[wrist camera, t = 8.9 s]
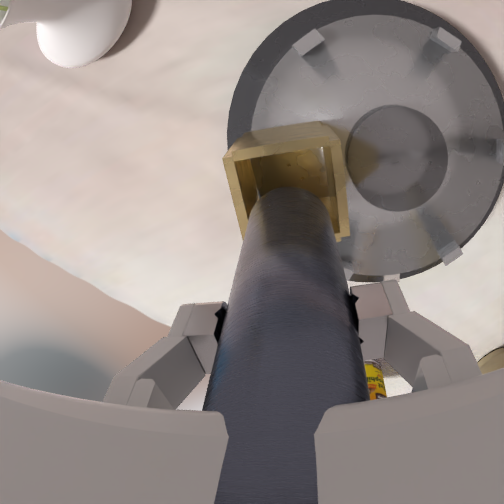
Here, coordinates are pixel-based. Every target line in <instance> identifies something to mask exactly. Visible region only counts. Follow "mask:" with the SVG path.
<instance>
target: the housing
mask: <svg viewBox="0 0 504 504" xmlns="http://www.w3.org/2000/svg"><path fill="white" fill-rule="evenodd" d="M363 15H388V16H396V17H401V18H405V19H409V20H413V21H415V22H418V23H421V24H423V25H426V26H428V27H430V28H432V29H433V28H437V27H441V28H443V29H444V30H446V31H447V32H449V33H450V34H452V35H453V36H455V37H456V38H458V39H459V40H460V41H462V42H461V45H460V48H461V49H462V50H463V51H464V52H465V53H466V54H467V55H468V56H469V57H470V58H471V59H472V60H473V62H474V63H475V64H476V65H477V67H478V68H479V69H480V71H481V72H482V74H483V75H484V77H485V79H486V80H487V82H488V84H489V86H490V87H491V90H492V92H493V94H494V97H495V99H496V102H497V105H498V108H499V111H500V115H501V119H502V125H503V132H504V102H503V98H502V95H501V92H500V90H499V87H498V85H497V83H496V80H495V78H494V76H493V74H492V72H491V71H490V69H489V67H488V66H487V64H486V62H485V61H484V59H483V58H482V56H481V55H480V54H479V53H478V51H477V50H476V49H475V47H474V46H473V45H472V44H471V43H470V42H469V41H468V40H467V39H466V38H465V37H464V36H463V35H462V34H461V33H460V32H459V31H458V30H457V29H455V28H454V27H453V26H451V25H450V24H449V23H447V22H446V21H444V20H443V19H442V18H440V17H438V16H436V15H435V14H433V13H431V12H429V11H427V10H425V9H423V8H421V7H418V6H416V5H413V4H410V3H407V2H405V1H401V0H330V1H326V2H322V3H319V4H317V5H315V6H312V7H310V8H308V9H305V10H303V11H301V12H299V13H298V14H296V15H295V16H293V17H291V18H290V19H288V20H287V21H285V22H284V23H282V24H281V25H280V26H279V27H278V28H277V29H275V30H274V31H273V32H272V33H271V34H270V35H269V36H268V37H267V38H266V39H265V40H264V41H263V42H262V44H261V45H260V46H259V47H258V48H257V50H256V51H255V52H254V53H253V55H252V57H251V58H250V60H249V61H248V63H247V65H246V66H245V68H244V70H243V72H242V74H241V76H240V79H239V81H238V84H237V86H236V88H235V91H234V95H233V99H232V103H231V107H230V111H229V119H228V129H227V142H228V150H229V149H230V147H231V146H232V145H233V143H234V142H235V141H236V139H237V138H240V137H242V136H243V134H244V133H245V132H250V131H251V127H252V119H253V115H254V111H255V108H256V104H257V100H258V98H259V96H260V93H261V91H262V89H263V86H264V84H265V82H266V80H267V79H268V77H269V76H270V74H271V72H272V71H273V69H274V67H275V66H276V65H277V64H278V62H279V61H280V60H281V59H282V58H283V56H284V55H285V54H286V53H287V52H288V51H289V50H290V49H291V48H292V45H293V44H294V43H296V42H297V41H298V40H300V39H301V38H302V37H304V36H305V35H306V34H308V33H309V32H311V31H312V30H313V29H316V30H317V29H319V28H321V27H323V26H326V25H328V24H330V23H333V22H335V21H338V20H342V19H346V18H350V17H354V16H363ZM250 159H251V158H250ZM503 183H504V166H503V169H502V174H501V178H500V182H499V185H498V188H497V191H496V194H495V197H494V199H493V201H492V203H491V205H490V207H489V209H488V211H487V213H486V214H485V216H484V218H483V219H482V221H481V222H480V224H479V225H478V226H477V227H476V229H475V230H474V231H473V232H472V234H471V235H470V236H469V237H468V238H467V239H466V240H465V241H464V242H462V243H461V244H460V245H459V246H460V248H462V247H463V246H464V245H465V244H466V243H467V242H468V241H469V240H470V239H471V238H472V237H473V236H474V235H475V234H476V233H477V231H478V230H479V229H480V228H481V226H482V225H483V224H484V222H485V221H486V219H487V218H488V216H489V214H490V213H491V211H492V209H493V207H494V205H495V203H496V201H497V199H498V197H499V194H500V191H501V189H502V186H503ZM256 186H257V185H256ZM257 190H258V189H257ZM258 195H259V199H260V198H261V196H260V194H259V192H258ZM441 262H443V261H442V259H439V260H437V261H435V262H433V263H431V264H429V265H427V266H425V267H422V268H419V269H416V270H413V271H410V272H405V273H400V274H395V275H384V276H374V275H361V274H354V273H353V274H352V276H351V278H350V279H349V280H348V281H355V282H382V281H388V280H393V279H395V280H397V282H399V279H402V278H407V277H410V276H413V275H416V274H419V273H422V272H424V271H426V270H428V269H430V268H432V267H434V266H436V265H438V264H440V263H441Z"/></svg>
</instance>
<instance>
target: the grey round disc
mask: <svg viewBox="0 0 504 504" xmlns="http://www.w3.org/2000/svg"><path fill="white" fill-rule="evenodd" d="M461 42H462V41H460V40H459V39H458V38H456V37H455V36H453V35H452V34H450V33H449V32H447V31H446V30H444V29H443V28H441V27H437V28H433V29H432V28H430V27H428V26H426V25H423V24H421V23H418V22H415V21H413V20H409V19H405V18H401V17H396V16H388V15H363V16H354V17H350V18H346V19H342V20H338V21H335V22H333V23H330V24H328V25H326V26H323V27H321V28H319V29H317V30H316V29H313V30H312V31H311V32H309V33H308V34H306V35H305V36H304V37H302V38H301V39H300V40H298V41H297V42H296V43H294V44H293V45H292V48H291V49H290V50H289V51H288V52H287V53H286V54H285V55H284V56H283V58H282V59H281V60H280V61H279V62H278V64H277V65H276V66H275V67H274V69H273V71H272V72H271V74H270V76H269V77H268V79H267V80H266V82H265V84H264V86H263V89H262V91H261V93H260V96H259V98H258V100H257V104H256V108H255V111H254V115H253V119H252V127H251V131H250V132H245V133H244V134H243V136H242V137H240V138H237V139H236V141H235V142H234V143H233V145H232V146H231V147H230V149H229V150H228V151H227V153H226V154H225V155H224V157H223V158H222V160H223V163H224V167H225V171H226V175H227V179H228V183H229V187H230V191H231V195H232V199H233V203H234V207H235V211H236V215H237V219H238V223H239V227H240V231H241V234H242V238H243V241H244V237H245V233H246V229H247V225H248V221H249V217H250V213H251V211H252V208H253V207H254V205H255V203H256V202H257V201H258V200H259V195H258V192H259V194H260V196H261V197H262V196H263V195H265V194H266V193H268V192H270V191H272V190H274V189H277V188H282V187H297V188H302V189H305V190H307V191H309V192H311V193H313V194H315V195H316V196H317V197H318V198H319V199H320V200H321V201H322V202H323V203H324V205H325V206H326V208H327V210H328V213H329V216H330V219H331V223H332V226H333V230H334V234H335V237H336V241H337V245H338V249H339V253H340V257H341V260H342V264H343V268H344V272H345V276H346V280H349V279H350V278H351V276H352V274H353V273H354V274H361V275H374V276H384V275H395V274H400V273H405V272H410V271H413V270H416V269H419V268H422V267H425V266H427V265H429V264H431V263H433V262H435V261H437V260H439V259H442V261H443V263H444V264H445V266H447V265H448V264H449V263H451V262H452V261H454V260H455V259H457V258H458V257H460V256H461V255H462V254H463V253H462V251H461V248H460V246H459V245H460V244H461V243H462V242H464V241H465V240H466V239H467V238H468V237H469V236H470V235H471V234H472V232H473V231H474V230H475V229H476V227H477V226H478V225H479V224H480V222H481V221H482V219H483V218H484V216H485V214H486V213H487V211H488V209H489V207H490V205H491V203H492V201H493V199H494V197H495V194H496V191H497V188H498V185H499V182H500V178H501V174H502V169H503V166H504V132H503V125H502V119H501V115H500V111H499V108H498V105H497V102H496V99H495V97H494V94H493V92H492V90H491V87H490V86H489V84H488V82H487V80H486V79H485V77H484V75H483V74H482V72H481V71H480V69H479V68H478V67H477V65H476V64H475V63H474V62H473V60H472V59H471V58H470V57H469V56H468V55H467V54H466V53H465V52H464V51H463V50H462V49H461V48H460V45H461ZM250 158H251V159H250ZM256 185H257V186H256ZM257 189H258V190H257Z"/></svg>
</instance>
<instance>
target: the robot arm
mask: <svg viewBox="0 0 504 504" xmlns="http://www.w3.org/2000/svg"><path fill="white" fill-rule="evenodd" d="M350 298H351V302H352V307H353V311H354V316H355V321H356V325H357V330H358V335H359V339H360V344H361V349H362V355H363V360H364V361H365V360H373V359H380V358H384V360H385V361H386V362H388V363H389V364H390V365H391V366H392V367H393V368H394V369H395V370H396V371H397V372H398V373H399V374H400V375H401V376H402V377H403V378H404V379H405V380H406V381H407V382H408V383H409V384H410V385H411V386H412V387H413V389H412V392H411V393H408V394H403V395H398V396H392V397H387V398H381V399H375V400H369V401H362V402H356V403H348V404H340V405H335V406H333V407H331V408H329V409H328V410H327V411H326V412H325V413H324V415H323V418H322V420H321V422H320V424H319V426H318V428H317V430H316V432H315V433H314V440H315V452H316V466H317V487H318V504H504V368H501V369H498V370H495V371H492V372H489V373H486V374H483V375H482V373H481V371H480V368H479V366H478V364H477V361H476V359H475V357H474V355H473V353H472V350H471V348H470V346H469V345H468V344H466V343H464V342H463V341H461V340H460V339H458V338H457V337H455V336H453V335H452V334H450V333H449V332H447V331H446V330H444V329H442V328H441V327H439V326H438V325H436V324H434V323H433V322H431V321H430V320H428V319H426V318H425V317H423V316H422V315H420V314H418V313H417V312H415V311H413V312H410V310H409V308H408V305H407V303H406V300H405V298H404V296H403V293H402V291H401V289H400V287H399V284H398V282H397V280H395V279H393V280H388V281H382V282H380V283H373V284H366V285H359V286H353V287H350ZM226 309H227V304H226V303H225V302H224V301H222V302H207V303H196V304H195V303H194V304H183V305H181V306H180V308H179V310H178V312H177V315H176V317H175V320H174V322H173V324H172V327H171V329H170V332H169V334H168V337H163V338H162V339H161V340H159V341H158V342H157V343H156V344H154V345H153V346H152V347H150V348H149V349H148V350H147V351H145V352H144V353H143V354H142V355H140V356H139V357H138V358H137V359H135V360H134V361H133V362H131V363H130V364H129V365H128V366H126V367H125V368H124V369H122V370H121V371H120V372H119V373H117V374H116V375H115V376H114V378H113V380H112V382H111V384H110V386H109V388H108V390H107V393H106V395H105V397H104V399H103V402H98V401H91V400H85V399H80V398H73V397H69V396H63V395H58V394H54V393H49V392H44V391H40V390H36V389H31V388H27V387H23V386H20V385H16V384H12V383H8V382H5V381H2V380H0V504H214V501H215V496H216V492H217V487H218V482H219V478H220V473H221V468H222V464H223V460H224V456H225V451H226V447H227V443H228V438H229V436H228V434H227V430H226V425H225V421H224V417H223V415H222V414H221V413H219V412H217V411H193V410H192V411H191V410H175V409H176V408H177V407H178V406H179V405H180V404H181V403H182V401H183V400H184V399H185V398H186V397H187V396H188V395H189V394H190V392H191V391H192V390H193V389H194V388H195V387H196V386H197V384H198V383H199V382H200V381H201V380H202V379H203V378H204V376H205V374H211V371H212V367H213V363H214V359H215V355H216V350H217V346H218V342H219V338H220V334H221V330H222V326H223V321H224V317H225V313H226Z"/></svg>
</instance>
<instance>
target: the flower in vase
mask: <svg viewBox="0 0 504 504" xmlns="http://www.w3.org/2000/svg"><path fill="white" fill-rule="evenodd" d="M131 7H132V0H0V30H1V29H3V28H5V27H7V26H9V25H13V24H17V23H24V22H36V23H37V39H38V43H39V46H40V49H41V51H42V52H43V54H44V55H45V56H46V58H48V59H49V60H50V61H52V62H53V63H55V64H57V65H59V66H61V67H65V68H78V67H82V66H86V65H88V64H90V63H92V62H94V61H96V60H98V59H99V58H100V57H102V56H103V55H104V54H105V53H106V52H108V51H109V50H110V48H111V47H112V46H113V45H114V44H115V43H116V41H117V40H118V39H119V37H120V36H121V34H122V32H123V30H124V28H125V27H126V24H127V22H128V19H129V16H130V12H131Z"/></svg>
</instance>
